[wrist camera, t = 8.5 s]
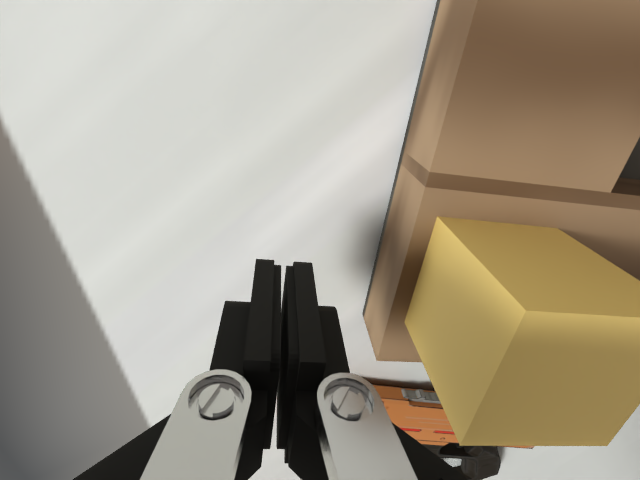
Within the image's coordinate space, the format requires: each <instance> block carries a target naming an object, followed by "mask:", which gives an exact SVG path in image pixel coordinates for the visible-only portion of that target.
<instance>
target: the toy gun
mask: <svg viewBox="0 0 640 480" xmlns="http://www.w3.org/2000/svg"><path fill="white" fill-rule="evenodd" d="M373 386H374V387H375V389H376V390H377V392H378V394H379V395H380V398H381V400H382V402H383V404H384V406H385V409H386V411H387V413H388V415H389V417H390V420H391V422H392V423H394V424H395V425H397V426H398V427H399V428H401V429H402V430H403V431H405V432H406V433H407V434H409V435H410V436H411V437H413V438H414V439H415V440H417V441H418V442H419V443H421V444H422V445H423V446H425V447H426V448H427V449H429V450H430V451H431V452H433V453H434V454H435V455H437V456H438V457H439V458H458V459H462V462H461V465H460V466H457V467H453V468H454V469H456V470H457V471H458V472H460V473H461V474H462V475H464V476H465V477H466V478H467V479H468V480H482V479H484V478H487V477H490V476H493V475H497V474H498V471H499V468H500V464H501V462H500V457H499V454H498V451H497V446H460V444H459V442H458V440H457V438H456V436H455V433H454V431H453V429H452V427H451V425H450V422H449V420H448V418H447V416H446V413H445V411H444V409H443V407H442V405H441V402H440V400H439V398H438V396H437V393H436V391H429V390H423V389H410V388H401V387H391V386H381V385H373ZM501 447H516V448H531V449H532V448H533V447H534V446H501Z"/></svg>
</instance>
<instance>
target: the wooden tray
mask: <svg viewBox="0 0 640 480" xmlns="http://www.w3.org/2000/svg"><path fill="white" fill-rule="evenodd" d="M437 216H439V217H449V218H459V219H469V220H479V221H489V222H500V223H510V224H520V225H530V226H540V227H550V228H558V229H559V230H561V231H563V232H564V233H566V234H567V235H569V236H570V237H572V238H574V239H575V240H577V241H578V242H580V243H581V244H583V245H584V246H586V247H588V248H589V249H591V250H592V251H594V252H595V253H597V254H599V255H600V256H602V257H603V258H605V259H606V260H608V261H609V262H611V263H613V264H614V265H616V266H617V267H619V268H620V269H622V270H624V271H625V272H627V273H628V274H630V275H631V276H633V277H634V278H636V279H638V280H639V281H640V0H437V3H436V7H435V12H434V16H433V20H432V24H431V28H430V33H429V37H428V41H427V45H426V50H425V54H424V58H423V62H422V66H421V71H420V75H419V79H418V83H417V87H416V92H415V96H414V100H413V104H412V108H411V113H410V117H409V121H408V125H407V129H406V134H405V138H404V142H403V146H402V150H401V155H400V159H399V163H398V167H397V171H396V176H395V180H394V184H393V188H392V192H391V197H390V201H389V205H388V209H387V213H386V218H385V222H384V226H383V230H382V234H381V239H380V243H379V247H378V251H377V255H376V260H375V264H374V268H373V272H372V276H371V281H370V285H369V289H368V293H367V297H366V302H365V306H364V310H363V317H364V320H365V324H366V327H367V330H368V334H369V337H370V340H371V343H372V347H373V350H374V353H375V356H376V360H377V361H402V362H422V360H421V358H420V356H419V354H418V351H417V349H416V347H415V345H414V343H413V340H412V338H411V336H410V334H409V331H408V329H407V327H406V325H405V323H404V322H405V319H406V315H407V312H408V309H409V306H410V302H411V299H412V296H413V293H414V290H415V286H416V283H417V280H418V277H419V273H420V270H421V267H422V264H423V260H424V257H425V254H426V251H427V248H428V244H429V241H430V238H431V235H432V231H433V228H434V225H435V222H436V218H437Z"/></svg>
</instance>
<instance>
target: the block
mask: <svg viewBox="0 0 640 480" xmlns="http://www.w3.org/2000/svg"><path fill="white" fill-rule="evenodd" d="M404 323H405V325H406V327H407V329H408V331H409V334H410V336H411V338H412V340H413V343H414V345H415V347H416V349H417V351H418V354H419V356H420V358H421V360H422V362H423V365H424V367H425V369H426V371H427V374H428V376H429V378H430V380H431V382H432V385H433V387H434V389H435V391H436V393H437V396H438V398H439V400H440V402H441V405H442V407H443V409H444V411H445V413H446V416H447V418H448V420H449V422H450V425H451V427H452V429H453V431H454V433H455V436H456V438H457V440H458V442H459V444H460V446H607V445H608V444H609V443H610V442H611V440H612V439H613V438H614V436H615V435H616V434H617V433H618V431H619V430H620V429H621V427H622V426H623V425H624V423H625V422H626V421H627V420H628V418H629V417H630V416H631V414H632V413H633V412H634V411H635V409H636V408H637V407H638V405H639V404H640V281H639V280H638V279H636V278H634V277H633V276H631V275H630V274H628V273H627V272H625V271H624V270H622V269H620V268H619V267H617V266H616V265H614V264H613V263H611V262H609V261H608V260H606V259H605V258H603V257H602V256H600V255H599V254H597V253H595V252H594V251H592V250H591V249H589V248H588V247H586V246H584V245H583V244H581V243H580V242H578V241H577V240H575V239H574V238H572V237H570V236H569V235H567V234H566V233H564V232H563V231H561V230H559V229H558V228H550V227H540V226H530V225H520V224H510V223H500V222H489V221H479V220H469V219H459V218H449V217H439V216H437V218H436V222H435V225H434V228H433V231H432V235H431V238H430V241H429V244H428V248H427V251H426V254H425V257H424V260H423V264H422V267H421V270H420V273H419V277H418V280H417V283H416V286H415V290H414V293H413V296H412V299H411V302H410V306H409V309H408V312H407V315H406V319H405V322H404Z"/></svg>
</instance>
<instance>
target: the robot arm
mask: <svg viewBox="0 0 640 480" xmlns="http://www.w3.org/2000/svg"><path fill="white" fill-rule="evenodd" d="M276 396H277V449H285V463H288V466H289V467H290V468H291V469H292V470H293V471H294V472H295V473H296V474H297V475H298V476H299V477H300V480H468V479H467V478H466V477H465V476H464V475H462V474H461V473H460V472H458V471H457V470H456V469H454V468H453V467H452V466H450V465H449V464H448V463H446V462H445V461H444V460H442V459H441V458H439V457H438V456H437V455H435V454H434V453H433V452H431V451H430V450H429V449H427V448H426V447H425V446H423V445H422V444H421V443H419V442H418V441H417V440H415V439H414V438H413V437H411V436H410V435H409V434H407V433H406V432H405V431H403V430H402V429H401V428H399V427H398V426H397V425H395V424H394V423H392V422H391V420H390V417H389V415H388V413H387V411H386V409H385V406H384V404H383V402H382V400H381V398H380V395H379V394H378V392H377V390H376V389H375V387H374V386H373V385H372V384H371V383H369V382H368V381H367V380H366V379H364V378H362V377H360V376H358V375H355V374H351V373H350V371H349V366H348V361H347V357H346V352H345V347H344V342H343V338H342V333H341V328H340V324H339V319H338V314H337V310H336V308H335V307H330V306H318V302H317V295H316V288H315V281H314V273H313V266H312V263H306V262H294V263H293V266H286V273H285V282H284V291H283V300H282V309H281V265H274V260H264V259H256V264H255V272H254V280H253V289H252V297H251V302H237V301H225V304H224V308H223V313H222V317H221V322H220V326H219V330H218V335H217V339H216V344H215V348H214V353H213V357H212V362H211V366H210V371H206V372H204V373H202V374H200V375H198V376H196V377H195V378H193V379H192V380H191V381H190V382H188V384H187V385H186V386H185V388H184V389H183V391H182V393H181V395H180V397H179V399H178V401H177V403H176V405H175V407H174V409H173V412H172V414H170V415H169V416H167V417H166V418H164V419H163V420H161V421H160V422H158V423H157V424H155V425H154V426H152V427H151V428H149V429H148V430H146V431H145V432H143V433H142V434H140V435H139V436H137V437H136V438H134V439H133V440H131V441H130V442H128V443H127V444H125V445H124V446H122V447H121V448H120V449H118V450H116V451H115V452H113V453H112V454H110V455H109V456H107V457H106V458H104V459H103V460H101V461H100V462H98V463H97V464H95V465H94V466H92V467H91V468H89V469H88V470H86V471H85V472H83V473H82V474H80V475H79V476H77V477H76V478H74V479H73V480H248V479H249V478H250V477H251V476H252V475H253V474H254V473H255V472H256V471H257V470H258V469H259V468H260V467H261V463H262V453H263V449H270V445H271V437H272V429H273V421H274V413H275V404H276Z"/></svg>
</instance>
